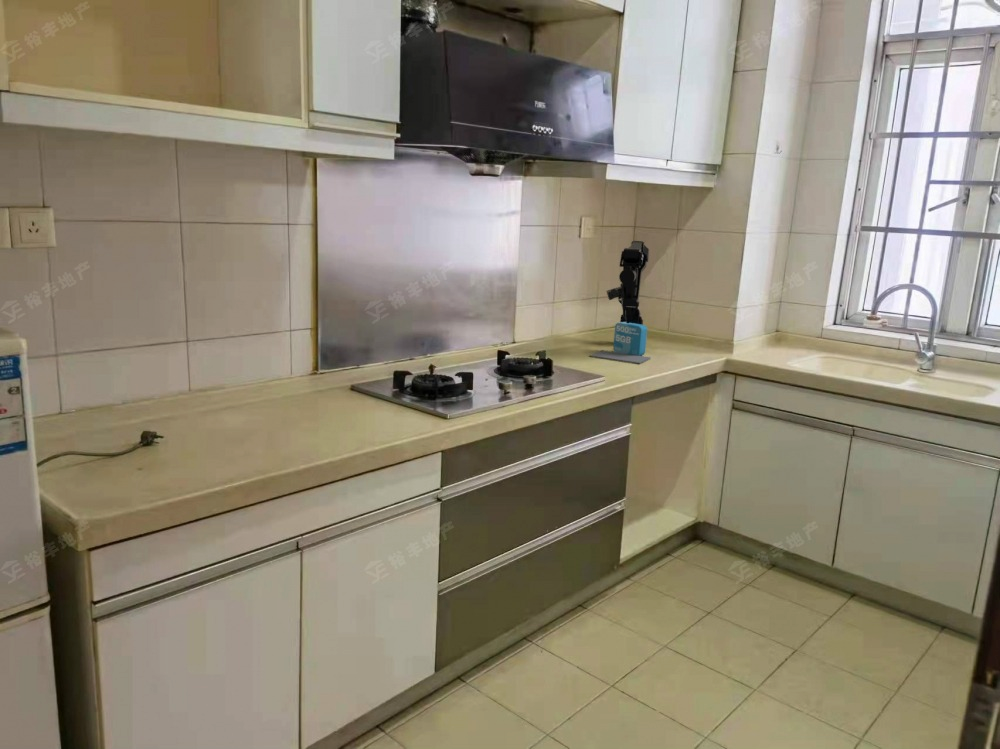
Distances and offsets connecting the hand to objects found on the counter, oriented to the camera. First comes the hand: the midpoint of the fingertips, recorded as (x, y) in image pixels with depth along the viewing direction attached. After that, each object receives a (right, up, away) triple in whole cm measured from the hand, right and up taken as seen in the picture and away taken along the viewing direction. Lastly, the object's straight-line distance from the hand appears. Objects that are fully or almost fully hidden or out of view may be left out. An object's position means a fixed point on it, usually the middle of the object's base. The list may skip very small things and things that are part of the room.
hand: (626, 321), depth 294 cm
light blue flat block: (+1, -13, 0) cm, 13 cm away
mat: (-4, -15, -8) cm, 17 cm away
